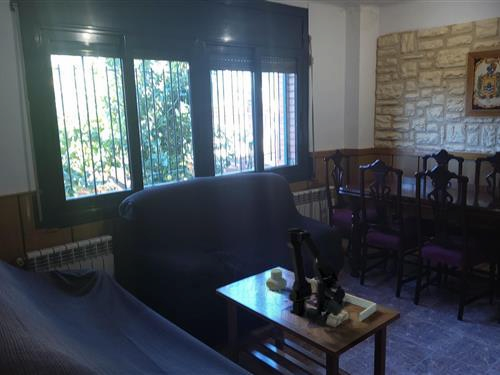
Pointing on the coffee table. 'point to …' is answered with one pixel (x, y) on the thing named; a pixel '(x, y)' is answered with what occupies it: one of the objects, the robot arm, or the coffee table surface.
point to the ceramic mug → (313, 285)
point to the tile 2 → (343, 316)
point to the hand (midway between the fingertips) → (323, 326)
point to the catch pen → (363, 303)
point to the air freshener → (276, 280)
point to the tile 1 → (333, 320)
